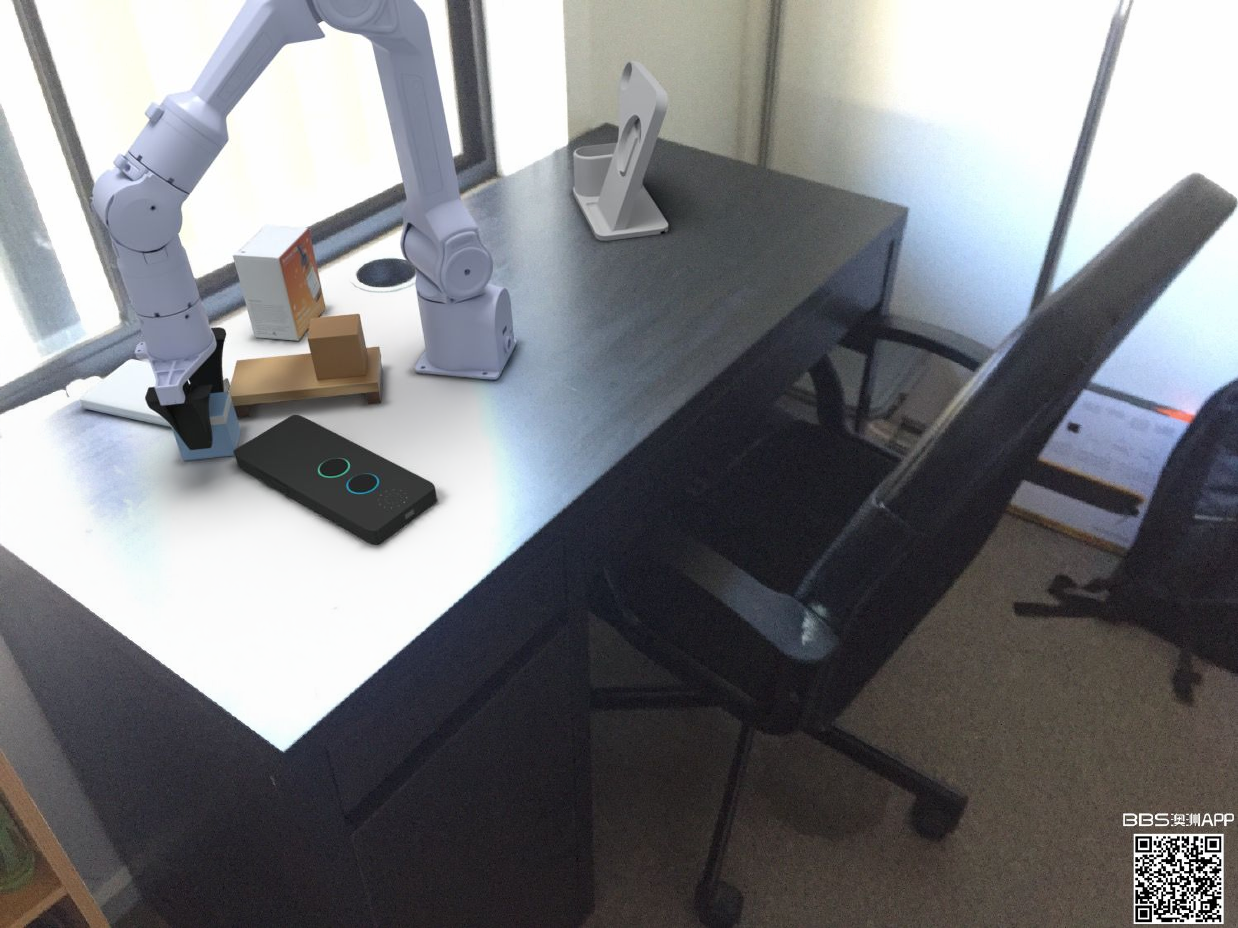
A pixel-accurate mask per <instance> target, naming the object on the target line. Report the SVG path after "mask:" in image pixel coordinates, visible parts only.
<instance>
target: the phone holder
mask: <svg viewBox="0 0 1238 928" xmlns="http://www.w3.org/2000/svg"><path fill="white" fill-rule="evenodd" d="M617 102H618V103H617V107H618V108H617V109H618V110H617V112H618V113H617V114H618V138H617V142H612V143H604V144H595V145H585V146H580V147H578V148H576V149H575V150H574V151H573V152H572V153H573V154H572V156H573V175H574V186H573V188H572V194H573V197H574V199H575V200H576V202H577V205H578V206H579V208H580V210H581V212H582V214H583V216H584V218H585V219H586V222H587V225H588V226H589V227H590V229H591V232H592V234H593V236H594V237H595V239H596V240H599V241H601V242H602V241H603V242H609V241H616V240H623V239H624V240H625V239H633V238H640V237H647V236H654V235H661V232H664V233H667V232H668V231H669V222H668V221H667V219H666V218H665V216H664V215H663V213H662V211H661V210H660V209H659V208H658V206H657V204H656V203H655V201H654V200H653V197H651V195H650V194H649V191H647V189H646V187H645V186H644V178H645V175H646V173H647V172H646V171H647V169H648V165H649V163H650V161H651V157H652V154H653V151H654V149H655V146H656V143H657V140H658V137H659V134H660V132H661V130H662V126H663V123H664V120H665V117H666V114H667V111H668V106H669V96H668V93H667V91H666V90H665V88H663V86H662V85H661V84H660V83H659V82H658V80H657V79H656V77H654V76H653V75H652V73H651V72H650V71H649V69H647V68H646V67H645V65H644V64H643V63H642V62H639V61H636V60H632V59H628V60H627V61H626V62H625V64H624V66H623V68H622V71H621V74H620V77H619V80H618V85H617Z"/></svg>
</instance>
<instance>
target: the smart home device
mask: <svg viewBox="0 0 1238 928" xmlns="http://www.w3.org/2000/svg"><path fill="white" fill-rule="evenodd" d="M233 456H234V458H235V462H236V464H237V467H238V468H239V469H240V470H242V471H243V472H244V473H247V474H248V475H251V476H252V477H253V478H255V479H257V480H259V481H261V482H263V483H264V484H266V485H268V486H270V487H271V488H273V489H274V490H277V491H278V492H280V493H282V494H284V495H286V496H287V497H289V498H290V499H292V500H293V501H296V502H298V503H299V504H301V505H303V506H304V507H306V508H308V509H310V510H312V511H313V512H315V513H317V514H319V515H320V516H322V517H324V518H325V519H327V520H329V521H331V522H333V523H334V524H335V525H338V526H339V527H341V528H343V529H345V530H347V531H348V532H350V533H351V534H353V535H355V536H356V537H359V538H360V539H362V540H364V541H366V542H367V543H370V544H373V545H380V544H381V543H383V542H384V541H386V539H388V538H390V537H391V536H392V535H393V534H395V533H396V532H397V531H399V530H400V529H402V528H403V527H404V526H405V525H407V524H408V523H410V522H411V521H413V520H414V519H415V518H416V517H417V516H419V515H421V514H422V513H424V511H425V510H427V509H428V508H430V507H431V506H433V505H434V504H435V503H437V501H438V497H437V491H436V486H435V484H434V483H433V482H431V481H430V480H428V479H426V478H424V477H422V476H420V475H418V474H417V473H414V472H412V471H410V470H409V469H406V468H405V467H403V466H401V465H399V464H396V463H395V462H393V461H391V460H389V459H387V458H385V457H383V456H381V455H379V454H377V453H375V452H373V451H371V450H369V449H367V448H365V447H363V446H361V445H360V444H357V443H356V442H354V441H351V439H348V438H346V437H344V436H342V435H341V434H338V433H337V432H335V431H333V430H330V429H329V428H326V427H324V426H322V425H321V424H318V423H317V422H315V421H313V420H311V419H309V418H307V417H305V416H303V415H300V414H292V415H290V416H288V417H287V418H284V419H283V420H281V421H280V422H278V423H277V424H275V425H273V426H271V427H270V428H268V429H266V430H265V431H263V432H261V433H260V434H258V435H256V436H255V437H253V438H252V439H250V440H248V441H247V442H245V443H243V444H242V445H240V446H237V449H235V450H234V455H233Z"/></svg>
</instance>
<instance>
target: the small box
mask: <svg viewBox="0 0 1238 928" xmlns="http://www.w3.org/2000/svg"><path fill="white" fill-rule="evenodd" d="M312 241H313V240H312V237H311V231H310V228H309V227H304V226H303V227H302V226H289V225H277V224H264V225H263V226H262V227H261V229H260V230H259V231H258V232H257V233H256V234H255V235H253V236H252V237H251V239H249V240H248V241H247V242H246V243H245V244H244V245H243V246H242V247H241V248H239V250H238V251H235V252H234V253H233V254H232V259H233V262H234V265H235V270H236V273H237V276H238V280H239V284H240V288H241V292H242V295H243V300H244V303H245V306H246V310H247V314H248V318H249V321H250V324H251V329H252V332H253V336H254V338H261V339H275V340H286V341H299V340H301V338H302V337H303V335H304V334H305V333H306V331H307V330H309V325H310V319H311V318H318V317H320V315H322V314H323V312H325V310H326V308H327V306H326V301H325V298H324V293H323V287H322V283H321V278H320V274H319V270H318V265H317V260H316V255H315V251H314V246H313V242H312Z"/></svg>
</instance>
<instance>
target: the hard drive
mask: <svg viewBox="0 0 1238 928" xmlns="http://www.w3.org/2000/svg"><path fill="white" fill-rule="evenodd" d="M188 382H189V380H188ZM189 384H190V382H189ZM223 384H224V392H229V390H230V386H231V383H230V379H229V378H228V377H224V376H223ZM155 385H156V378H155V375H154V372H153V370H152V367H151V364H150V362H149V361H144V360H140V359H134V358H130V359H128V360H126V361H125V362H124V363H122V364H121V365H120V366H119V367H117V368H116V369H115V370H114V371H112V372H111V373H110V374H108V375H107V376H105V378H103V379H102V380H100V381H99V382H98V383H97V384H95V385H94V386H92V387H91V388H90V389H88V390H87V391H86V392H85V393H84V394H83V395H81V396H80V397H79V401H80V404H81V407H82V408H83V409H84V410H89V411H93V412H99V413H102V414H108V415H113V416H116V417H121V418H126V419H132V420H135V421H140V422H144V423H145V422H146V423H150V424H154V425H160V426H163V427H168V428H169V427H170V428H172V427H171V425H170V424H169V423H168V422H167V421H166V420H165V419H164V418H163V417H162V416H160V415H159V414H158V413H156V412H155V411H153V410H151V409H150V408H149V407H148V405H147V403H146V400H145V396H146V393H147V390H148V388H149V387H155Z"/></svg>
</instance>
